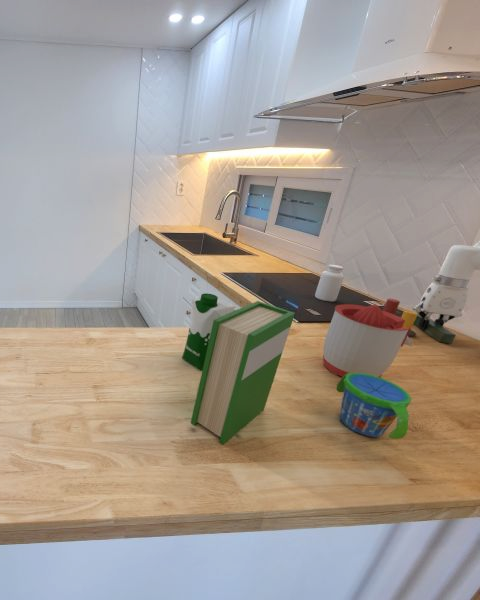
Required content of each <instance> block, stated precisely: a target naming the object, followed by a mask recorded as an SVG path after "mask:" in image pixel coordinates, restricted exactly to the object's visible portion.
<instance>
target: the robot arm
mask: <svg viewBox="0 0 480 600" xmlns="http://www.w3.org/2000/svg"><path fill="white" fill-rule="evenodd" d="M475 270H478V271H480V240H478V241H477V242H476V243H475V244H474V245H467V244H454V245H452V246H451V247H450V248H449V250H448V252H447V255H446V257H445V259H444V261H443V263H442V265H441V267H440V270H439V271H438V274H437V275H436V276H435V275H433V276H432V277H431V280H432V282H431V283H430V284H429V286H428V287H427V288H426V290H425V291H424V293H423V295H421V298H420V300H419V302H418V303H417V304H416V305H415V306H413V307H412V311H414V312H418V313H419V315H420V317H421V320H420V322H419V324H418V326H417V328H418V329H420V330H422V331H423V330H426V328H427V325H428V323H429V322H430V321H429V320H428V319H429V318H430V319H431V316H432V315H433V314H436V315H438V318H436V319H435V320H434V321H435V322H436V323H438V324H439V325H441V326H443V327H444V325H445V323H448V321H451V320H453V319H457V318H460V317H462V316H463V314H462V312H463V310H464V308H465V305H466V302H467V300H468V294H469V288H468V287H467V286H468V284H469V282H470V279H471V278H472V277H473V274H474V272H475ZM433 281H434V282H433Z"/></svg>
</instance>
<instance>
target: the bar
mask: <svg viewBox="0 0 480 600" xmlns="http://www.w3.org/2000/svg"><path fill="white" fill-rule="evenodd" d="M417 313H418V312H417ZM420 320H421V317H420V315H419V313H418V315H417V317H416V319H415V322H414V324H413V325H415V326H416V327H418V324H419V322H420ZM428 320H429V321H430V322H429V323H428V325H427V328H426V330H422V331H423V332H424V333H426V334H427V335H429V336H430V337H432V338H433V339H434V340H435V341H437V342H439V343H441V344H442V343H443V344H450V345H451V344H452V343H453V342H454V339H455V338H456V336H457V335H456V334H455V333H453V332H452V331H450V330H449V329H447V328H445V327H444V325H443V326H441V325H439V324H438V323H436V322H435V320H433V319H432V318H431V317H430V318H429V319H428Z"/></svg>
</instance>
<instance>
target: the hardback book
mask: <svg viewBox="0 0 480 600" xmlns="http://www.w3.org/2000/svg"><path fill="white" fill-rule="evenodd" d="M295 314H296V312H294V311H290V310H288V309H284V308H281V307H278V306H275V305H272V304H269V303H267V302H262V301H259V300H257V301H255V302H252V303H249V304H247V305H245V306H243V307H239V308H238V309H236V310H234V311H233V312H231V313H229V314H226V315H224V316H222V317H219V318H217V319H215V320H214V321H213V325H212V330H211V334H210V339H209V343H208V348H207V352H206V357H205V361H204V366H203V370H202V371H201V375H200V380H199V384H198V388H197V392H196V398H195V402H194V406H193V410H192V417H191V419H190V424H191V425H193V426H196V425H197V424H199V425H201V426H203V427H204V428H206V429H207V430H209V431H210V432H211V433H213V434H214V435H216V436H217V437H219V440H218V443H219V444H221V445H222V446H224V445H226V443H228V442H229V441H230V440H231V439H232V438H233V437H235V435H237V434H238V433H239V432H240V431H242V429H244V428H245V427H247V425H248V424H249V423H251V422H252V421H253V420H254V419H255V418H256V417H258V416H259V415H260V414H261V413H262V412H263V411H264V410H265V408H266V405H267V402H268V398H269V396H270V392H271V389H272V386H273V383H274V379H275V377H276V374H277V371H278V368H279V364H280V361H281V358H282V356H283V352H284V349H285V346H286V342H287V339H288V336H289V333H290V330H291V327H292V325H293V321H294V318H295Z"/></svg>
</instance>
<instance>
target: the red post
mask: <svg viewBox="0 0 480 600" xmlns="http://www.w3.org/2000/svg"><path fill="white" fill-rule="evenodd" d="M400 303H401V301H400V300H398V299H395V298H387V299H386V301H385V304H384V306H383V308H382V311H385V312H388V313H391V314H394V315H396V312H397V309H398V307H399V306H400Z"/></svg>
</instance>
